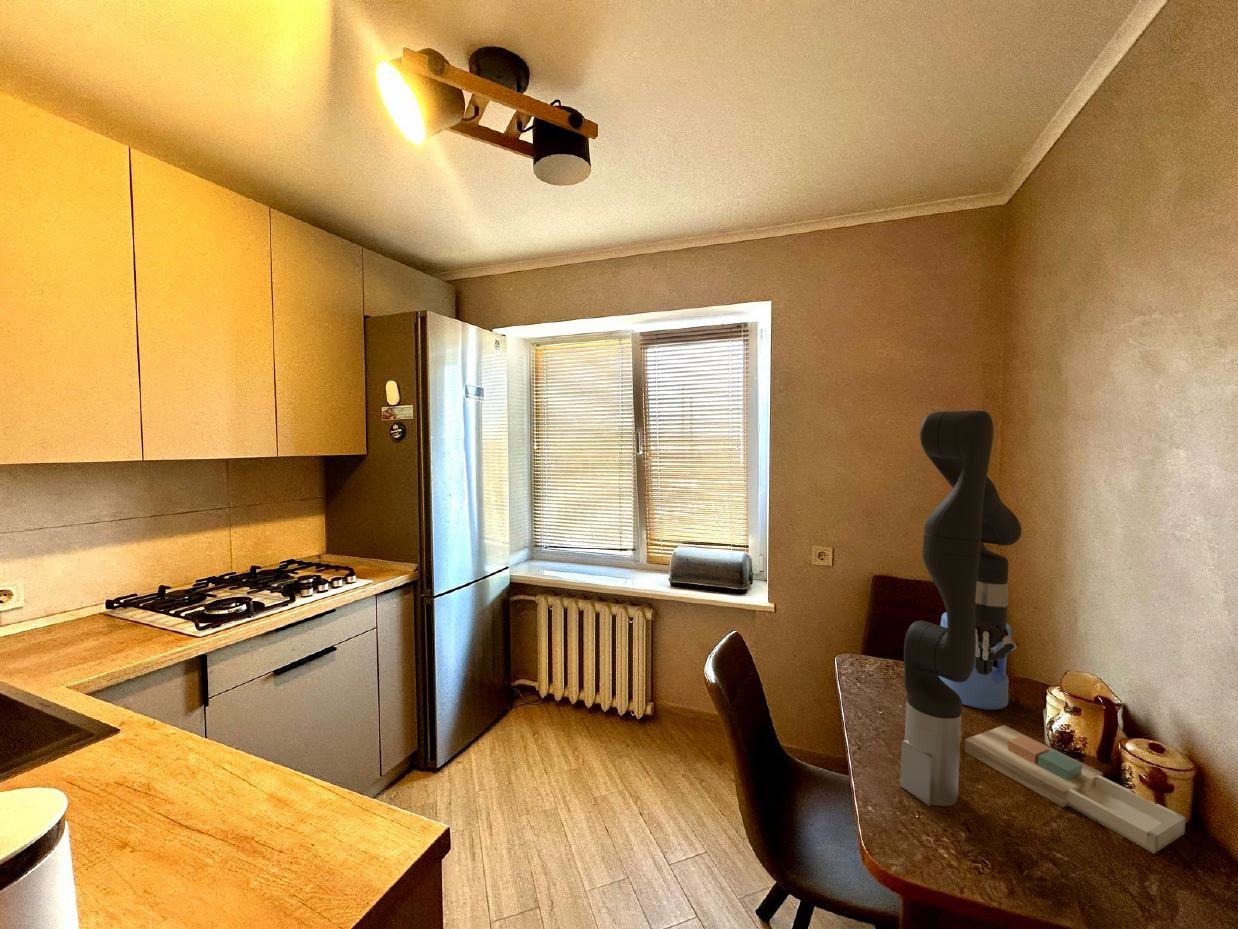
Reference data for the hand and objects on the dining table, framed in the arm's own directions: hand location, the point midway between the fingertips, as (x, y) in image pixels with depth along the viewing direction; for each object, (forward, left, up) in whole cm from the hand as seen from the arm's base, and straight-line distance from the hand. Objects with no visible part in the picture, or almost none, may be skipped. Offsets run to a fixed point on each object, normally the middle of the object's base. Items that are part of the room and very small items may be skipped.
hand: (983, 673), depth 114 cm
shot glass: (+16, -8, -16) cm, 24 cm away
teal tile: (0, -15, -13) cm, 20 cm away
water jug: (+20, +14, -16) cm, 29 cm away
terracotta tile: (0, -10, -13) cm, 16 cm away
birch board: (0, -10, -16) cm, 19 cm away
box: (0, -25, -16) cm, 30 cm away
